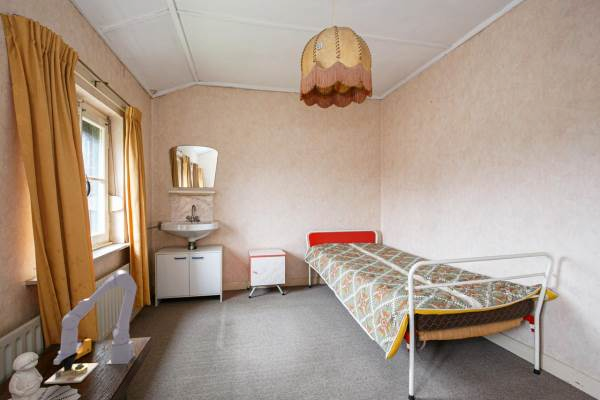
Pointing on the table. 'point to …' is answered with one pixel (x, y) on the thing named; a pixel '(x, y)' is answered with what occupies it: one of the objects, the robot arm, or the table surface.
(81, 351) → the pipe clamp
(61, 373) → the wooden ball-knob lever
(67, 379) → the board
